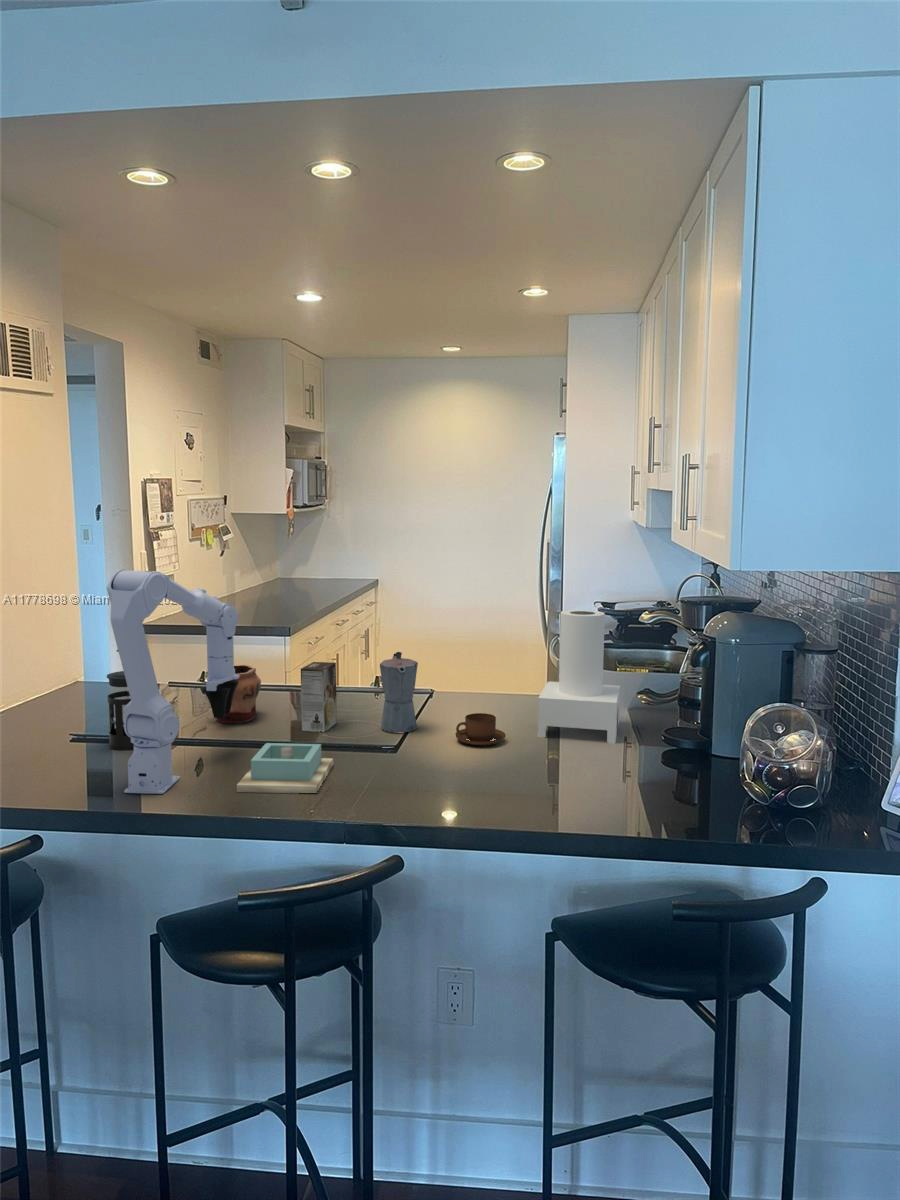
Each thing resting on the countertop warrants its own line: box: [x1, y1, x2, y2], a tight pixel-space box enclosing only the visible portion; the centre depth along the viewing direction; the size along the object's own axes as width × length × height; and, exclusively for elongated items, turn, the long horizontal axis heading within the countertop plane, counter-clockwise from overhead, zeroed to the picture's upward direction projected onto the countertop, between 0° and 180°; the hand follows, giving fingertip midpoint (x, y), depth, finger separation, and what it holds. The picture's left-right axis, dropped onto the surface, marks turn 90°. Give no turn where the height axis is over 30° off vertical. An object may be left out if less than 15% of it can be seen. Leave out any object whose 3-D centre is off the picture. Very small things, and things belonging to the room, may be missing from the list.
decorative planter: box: [216, 664, 262, 724], centre depth 222 cm, size 20×12×14 cm, turn 173°
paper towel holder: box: [537, 609, 621, 744], centre depth 215 cm, size 19×19×30 cm
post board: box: [236, 746, 334, 794], centre depth 179 cm, size 18×16×6 cm
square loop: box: [250, 742, 322, 781], centre depth 179 cm, size 12×12×4 cm
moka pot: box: [379, 651, 419, 734], centre depth 216 cm, size 10×15×20 cm, turn 15°
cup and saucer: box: [455, 712, 506, 746], centre depth 206 cm, size 12×12×6 cm
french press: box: [106, 649, 134, 751], centre depth 201 cm, size 12×9×23 cm
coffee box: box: [300, 661, 338, 733], centre depth 217 cm, size 9×6×16 cm
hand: (222, 715), depth 193 cm, fingers open, 4 cm apart
